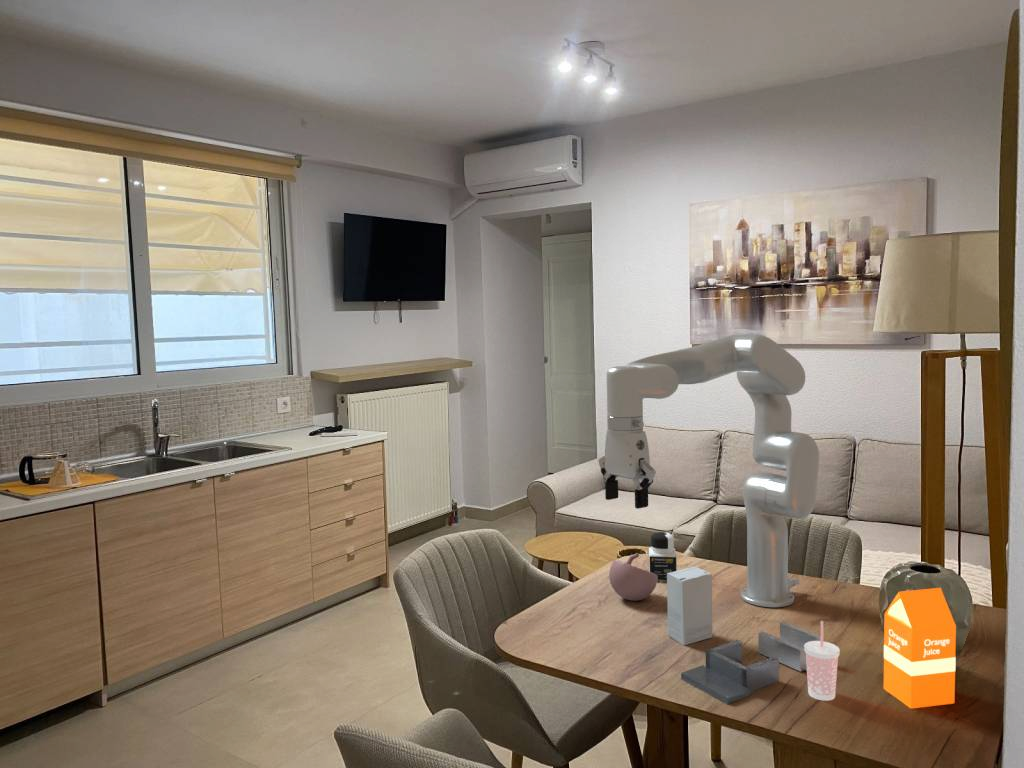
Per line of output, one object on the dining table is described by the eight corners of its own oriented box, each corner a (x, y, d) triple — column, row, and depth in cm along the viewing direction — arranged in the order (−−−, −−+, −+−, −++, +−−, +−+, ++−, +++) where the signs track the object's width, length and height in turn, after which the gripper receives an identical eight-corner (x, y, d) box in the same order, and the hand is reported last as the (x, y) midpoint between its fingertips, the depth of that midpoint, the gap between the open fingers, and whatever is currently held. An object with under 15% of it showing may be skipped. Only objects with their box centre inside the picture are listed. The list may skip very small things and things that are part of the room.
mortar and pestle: (667, 599, 189) (667, 554, 188) (636, 611, 181) (635, 565, 181) (631, 587, 198) (630, 544, 197) (599, 598, 191) (598, 554, 190)
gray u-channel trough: (778, 643, 161) (778, 619, 161) (826, 664, 151) (827, 638, 151) (755, 651, 158) (755, 626, 157) (803, 673, 148) (803, 647, 147)
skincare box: (696, 629, 170) (695, 565, 169) (714, 638, 165) (713, 572, 164) (666, 636, 167) (665, 571, 166) (683, 647, 161) (682, 579, 160)
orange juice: (955, 703, 135) (957, 595, 133) (911, 709, 134) (912, 599, 132) (924, 683, 143) (926, 580, 141) (882, 688, 141) (883, 584, 140)
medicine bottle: (649, 581, 202) (649, 537, 202) (649, 572, 210) (648, 530, 209) (676, 581, 201) (676, 537, 200) (675, 573, 208) (674, 530, 207)
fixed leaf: (734, 659, 155) (734, 638, 154) (782, 682, 144) (782, 660, 144) (681, 678, 147) (680, 656, 147) (727, 704, 137) (727, 680, 136)
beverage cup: (822, 705, 136) (822, 630, 134) (796, 690, 141) (796, 618, 140) (847, 698, 138) (847, 624, 137) (821, 683, 144) (821, 612, 142)
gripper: (666, 426, 155) (667, 508, 156) (612, 418, 170) (614, 493, 171) (638, 430, 151) (640, 513, 153) (586, 421, 166) (587, 498, 167)
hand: (626, 503), depth 162 cm, fingers open, 9 cm apart
